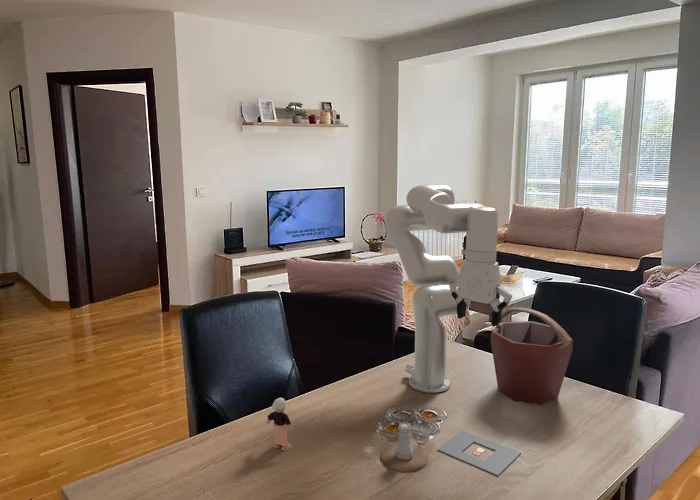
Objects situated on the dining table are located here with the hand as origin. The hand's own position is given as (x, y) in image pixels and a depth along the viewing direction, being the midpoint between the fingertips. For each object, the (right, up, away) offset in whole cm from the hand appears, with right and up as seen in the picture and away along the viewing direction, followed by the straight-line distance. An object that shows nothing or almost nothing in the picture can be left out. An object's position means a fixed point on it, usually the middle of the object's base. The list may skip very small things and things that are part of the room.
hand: (478, 321), depth 139 cm
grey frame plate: (-2, -30, -9) cm, 32 cm away
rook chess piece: (-20, -31, -11) cm, 38 cm away
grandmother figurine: (-50, -30, -6) cm, 59 cm away
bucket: (+21, -24, +24) cm, 40 cm away
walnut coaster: (-20, -31, -11) cm, 39 cm away
